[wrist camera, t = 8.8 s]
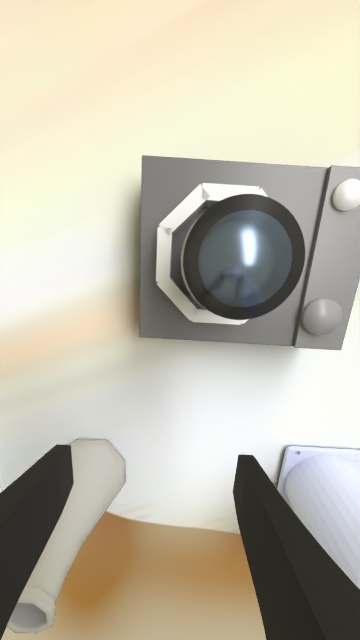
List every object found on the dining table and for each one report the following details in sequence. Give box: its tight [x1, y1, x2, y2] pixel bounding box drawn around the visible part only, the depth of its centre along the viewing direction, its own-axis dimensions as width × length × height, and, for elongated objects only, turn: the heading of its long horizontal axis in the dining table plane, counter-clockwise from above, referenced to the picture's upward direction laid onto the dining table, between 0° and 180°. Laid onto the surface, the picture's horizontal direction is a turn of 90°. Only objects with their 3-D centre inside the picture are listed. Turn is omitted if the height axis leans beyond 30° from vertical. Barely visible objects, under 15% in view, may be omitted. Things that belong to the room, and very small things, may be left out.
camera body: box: [139, 155, 360, 350], centre depth 15 cm, size 14×11×5 cm
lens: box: [181, 194, 305, 320], centre depth 11 cm, size 5×5×6 cm
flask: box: [7, 439, 126, 634], centre depth 17 cm, size 7×7×10 cm
